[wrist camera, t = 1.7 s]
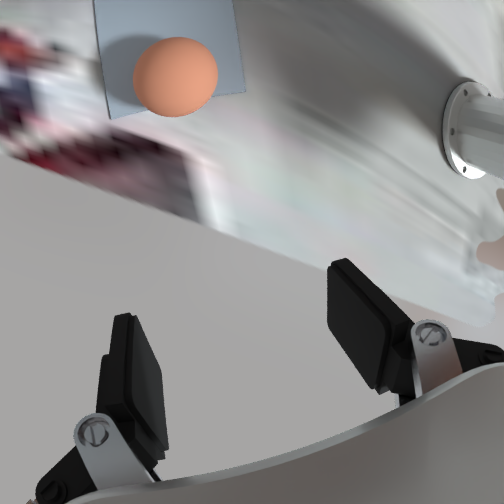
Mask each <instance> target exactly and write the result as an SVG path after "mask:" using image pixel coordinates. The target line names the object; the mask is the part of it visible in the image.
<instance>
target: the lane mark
mask: <svg viewBox="0 0 504 504" xmlns="http://www.w3.org/2000/svg"><path fill="white" fill-rule="evenodd" d="M94 4H95V15H96V25H97V34H98V42H99V49H100V57H101V63H102V70H103V76H104V82H105V88H106V94H107V100H108V105H109V110H110V115H111V120H112V119H116V118H119V117H123V116H126V115H130V114H134V113H138V112H142V111H146V110H148V109H147V108H146V107H145V106H144V105H143V104H142V103H141V102H140V101H139V99H138V97H137V96H136V93H135V91H134V87H133V72H134V68H135V65H136V63H137V61H138V59H139V58H140V56H141V55H142V54H143V52H144V51H145V50H146V49H148V48H149V47H150V46H151V45H153V44H154V43H156V42H158V41H160V40H163V39H166V38H171V37H186V38H190V39H193V40H196V41H198V42H199V43H201V44H203V45H204V46H205V47H206V48H207V49H208V50H209V51H210V52H211V54H212V55H213V57H214V59H215V61H216V64H217V68H218V81H217V85H216V88H215V90H214V92H213V94H212V96H211V97H214V96H220V95H226V94H233V93H240V92H246V89H245V82H244V75H243V68H242V61H241V55H240V48H239V41H238V35H237V28H236V22H235V15H234V9H233V2H232V0H94Z"/></svg>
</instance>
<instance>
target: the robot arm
mask: <svg viewBox="0 0 504 504" xmlns="http://www.w3.org/2000/svg"><path fill="white" fill-rule="evenodd" d="M443 143H444V148H445V152H446V155H447V158H448V161H449V163H450V164H451V166H452V168H453V169H454V170H455V171H456V172H457V173H458V174H459V175H461V176H463V177H466V178H468V179H477V178H480V177H482V176H483V175H484V174H486V173H488V174H490V175H493V176H495V177H498V178H500V179H502V180H504V99H501V98H495V97H494V96H493V95H492V93H491V92H490V91H489V90H488V88H487V87H485V86H484V85H482V84H480V83H477V82H464V83H462V84H460V85H459V86H458V87H457V88H456V89H455V90H454V91H453V92H452V94H451V95H450V97H449V100H448V102H447V105H446V108H445V112H444V118H443ZM327 279H328V280H327V286H328V287H327V323H328V327H329V329H330V331H331V332H332V334H333V335H334V337H335V338H336V340H337V341H338V342H339V344H340V345H341V347H342V348H343V350H344V351H345V353H346V354H347V355H348V357H349V358H350V360H351V361H352V363H353V364H354V366H355V367H356V369H357V370H358V371H359V373H360V374H361V376H362V377H363V379H364V380H365V382H366V383H367V385H368V386H369V387H370V388H371V389H374V388H375V390H376V391H377V393H378V394H379V395H380V394H382V393H385V392H387V391H389V390H390V391H391V392H392V393H394V394H395V404H396V405H395V406H396V409H394V410H392V411H390V412H388V413H386V414H384V415H382V416H380V417H378V418H375V419H373V420H371V421H369V422H367V423H364V424H362V425H360V426H357V427H355V428H353V429H350V430H348V431H345V432H343V433H340V434H338V435H335V436H333V437H330V438H328V439H325V440H323V441H320V442H317V443H314V444H311V445H309V446H306V447H303V448H300V449H297V450H294V451H291V452H287V453H284V454H281V455H278V456H275V457H271V458H268V459H264V460H261V461H257V462H253V463H250V464H246V465H242V466H238V467H234V468H229V469H225V470H221V471H216V472H211V473H207V474H202V475H196V476H191V477H185V478H179V479H173V480H166V481H163V480H162V478H161V477H160V476H159V475H158V473H157V472H156V470H155V469H154V467H155V466H156V465H157V464H158V460H163V459H165V452H164V451H166V450H168V449H169V446H168V445H169V444H168V436H167V427H166V418H165V407H164V397H163V384H162V373H161V369H160V366H159V364H158V362H157V360H156V358H155V356H154V353H153V351H152V349H151V347H150V345H149V342H148V341H147V338H146V336H145V333H144V331H143V329H142V327H141V324H140V322H139V320H138V318H137V316H136V315H135V316H132V315H131V313H125V314H120V315H116V316H115V317H114V322H113V329H112V336H111V343H110V351H109V354H107V355H103V357H102V360H101V368H100V376H99V385H98V394H97V405H96V413H93V414H90V415H88V416H85V417H84V418H82V419H81V420H80V421H79V422H78V424H77V425H76V427H75V429H74V435H73V437H74V441H75V444H76V446H75V447H74V448H73V449H72V450H71V451H70V452H69V453H68V454H67V455H65V456H64V457H63V458H62V459H61V460H60V461H59V462H58V463H57V464H56V465H55V466H54V467H53V468H52V469H51V470H50V471H49V472H48V473H47V474H46V475H45V476H43V477H42V478H41V480H40V481H39V483H38V484H37V487H36V493H35V495H36V499H35V500H34V501H33V500H31V499H30V500H29V501H28V502H27V503H26V504H504V351H503V350H502V349H501V348H499V347H498V346H496V345H492V344H486V343H480V342H474V341H467V340H462V339H456V338H452V336H451V333H450V331H449V329H448V328H447V327H446V326H445V325H444V324H443V323H440V322H439V321H436V320H429V319H426V320H421V321H419V322H417V323H416V324H415V323H414V322H413V321H412V320H411V319H410V318H409V317H408V316H407V315H406V314H405V313H404V312H403V311H402V310H401V309H400V308H399V307H398V306H397V305H396V304H395V303H394V302H393V301H392V300H391V299H390V298H389V297H388V296H387V295H386V294H385V293H384V292H383V291H382V290H381V289H380V288H379V287H377V286H376V285H375V284H374V283H373V282H372V281H371V280H370V279H369V278H368V277H367V276H366V275H364V274H363V273H362V272H361V271H360V270H359V269H358V268H357V267H356V266H355V265H354V264H353V263H352V262H351V261H350V260H349V259H347V258H343V259H340V260H336V261H333V262H332V263H331V266H329V267H328V269H327Z"/></svg>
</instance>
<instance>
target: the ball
mask: <svg viewBox="0 0 504 504" xmlns="http://www.w3.org/2000/svg"><path fill="white" fill-rule="evenodd" d="M217 81H218V68H217V64H216V61H215V59H214V57H213V55H212V54H211V52H210V51H209V50H208V49H207V48H206V47H205V46H204V45H203V44H201V43H199V42H198V41H196V40H193V39H190V38H186V37H171V38H166V39H163V40H160V41H158V42H156V43H154V44H153V45H151V46H150V47H149V48H148V49H146V50H145V51H144V52H143V54H142V55H141V56H140V58H139V59H138V61H137V63H136V65H135V68H134V72H133V87H134V91H135V93H136V96H137V97H138V99H139V101H140V102H141V103H142V104H143V105H144V106H145V107H146V108H147V109H148V110H150V111H151V112H153V113H155V114H158V115H161V116H166V117H179V116H184V115H188V114H190V113H192V112H194V111H196V110H198V109H199V108H201V107H202V106H203V105H204V104H205V103H206V102H207V101H208V100H209V99H210V97H211V96H212V94H213V92H214V90H215V88H216V85H217Z"/></svg>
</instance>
